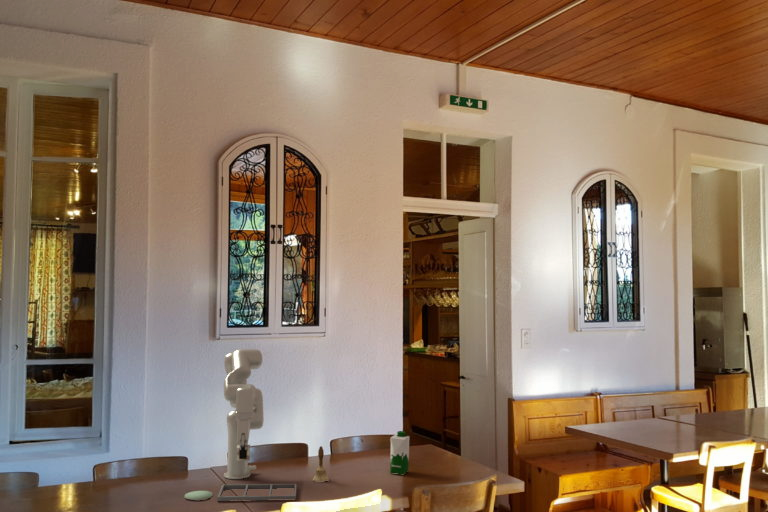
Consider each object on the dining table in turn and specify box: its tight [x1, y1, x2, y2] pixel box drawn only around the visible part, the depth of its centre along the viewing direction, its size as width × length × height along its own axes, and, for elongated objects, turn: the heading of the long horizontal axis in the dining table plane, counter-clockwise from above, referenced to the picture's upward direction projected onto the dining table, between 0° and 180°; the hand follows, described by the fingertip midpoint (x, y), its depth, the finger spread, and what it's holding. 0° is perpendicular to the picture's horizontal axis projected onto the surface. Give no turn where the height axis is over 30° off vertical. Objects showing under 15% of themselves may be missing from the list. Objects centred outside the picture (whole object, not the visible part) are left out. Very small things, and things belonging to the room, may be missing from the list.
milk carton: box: [389, 430, 411, 474], centre depth 348 cm, size 9×9×20 cm
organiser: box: [216, 483, 297, 502], centre depth 308 cm, size 33×18×2 cm, turn 96°
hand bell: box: [312, 446, 330, 481], centre depth 333 cm, size 8×8×16 cm
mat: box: [184, 490, 214, 500], centre depth 305 cm, size 12×12×1 cm
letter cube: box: [237, 444, 251, 461], centre depth 307 cm, size 6×6×6 cm
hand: (243, 456), depth 307 cm, fingers closed on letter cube, 5 cm apart
